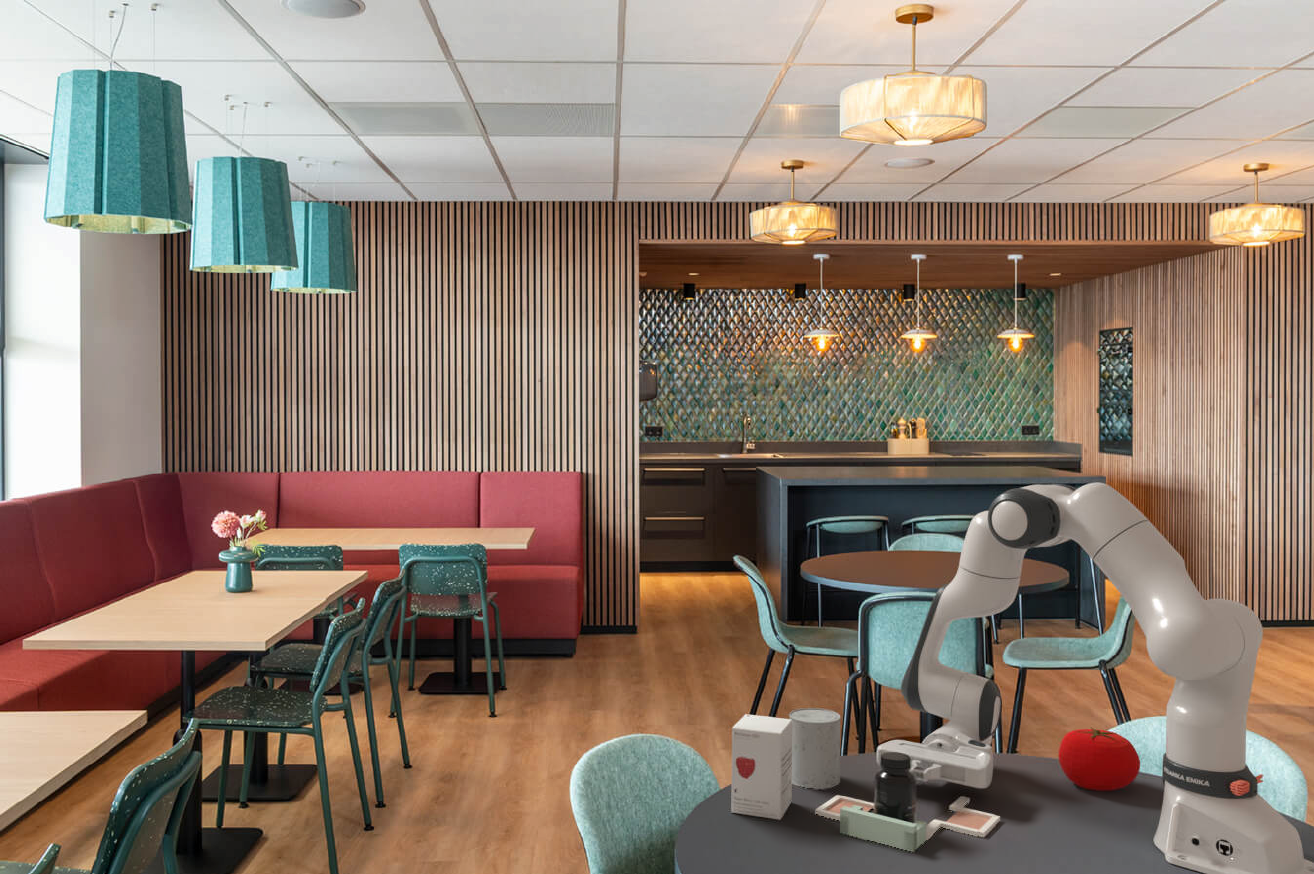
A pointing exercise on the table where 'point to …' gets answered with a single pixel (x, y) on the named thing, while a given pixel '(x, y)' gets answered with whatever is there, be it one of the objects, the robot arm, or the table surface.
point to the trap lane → (902, 822)
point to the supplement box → (761, 766)
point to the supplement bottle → (895, 788)
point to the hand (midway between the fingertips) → (917, 775)
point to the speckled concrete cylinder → (815, 748)
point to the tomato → (1098, 759)
